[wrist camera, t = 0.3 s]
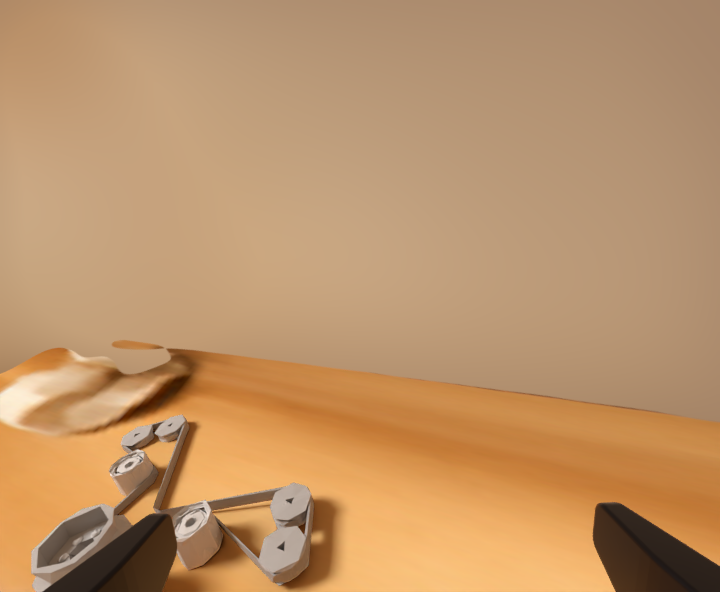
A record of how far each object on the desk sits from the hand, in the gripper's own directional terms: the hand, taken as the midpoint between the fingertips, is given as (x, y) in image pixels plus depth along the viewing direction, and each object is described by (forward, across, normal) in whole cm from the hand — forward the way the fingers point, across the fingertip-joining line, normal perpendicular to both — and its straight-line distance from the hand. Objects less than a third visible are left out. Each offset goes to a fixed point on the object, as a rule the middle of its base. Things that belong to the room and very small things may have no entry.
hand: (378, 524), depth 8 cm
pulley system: (+18, +18, +17) cm, 31 cm away
